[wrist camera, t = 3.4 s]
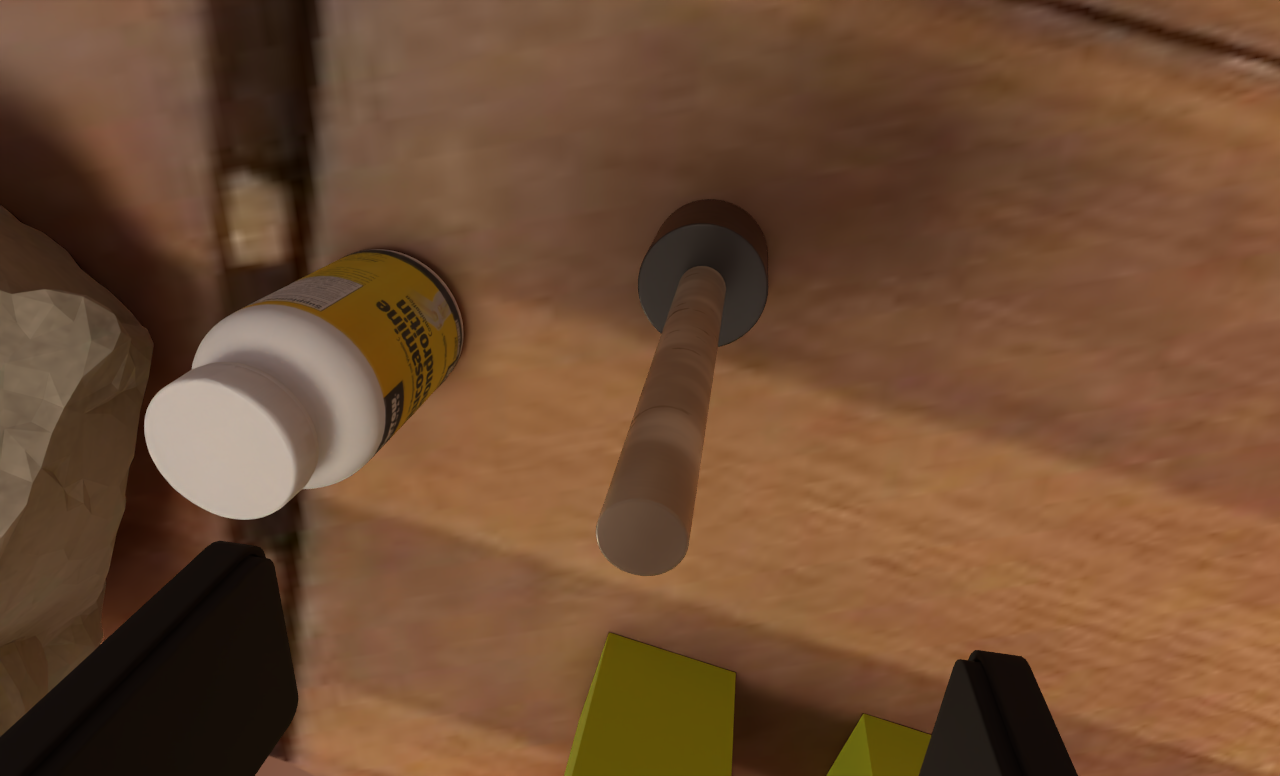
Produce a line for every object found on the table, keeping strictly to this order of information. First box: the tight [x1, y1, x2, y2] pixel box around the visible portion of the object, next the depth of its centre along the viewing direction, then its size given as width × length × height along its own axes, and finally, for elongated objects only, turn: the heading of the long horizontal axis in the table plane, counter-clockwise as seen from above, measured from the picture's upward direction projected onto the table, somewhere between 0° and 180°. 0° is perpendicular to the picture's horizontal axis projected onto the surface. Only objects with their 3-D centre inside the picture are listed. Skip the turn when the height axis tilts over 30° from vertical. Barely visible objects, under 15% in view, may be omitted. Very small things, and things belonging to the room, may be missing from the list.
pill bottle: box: [144, 249, 463, 520], centre depth 27 cm, size 6×6×12 cm
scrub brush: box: [596, 200, 768, 576], centre depth 21 cm, size 4×4×18 cm
